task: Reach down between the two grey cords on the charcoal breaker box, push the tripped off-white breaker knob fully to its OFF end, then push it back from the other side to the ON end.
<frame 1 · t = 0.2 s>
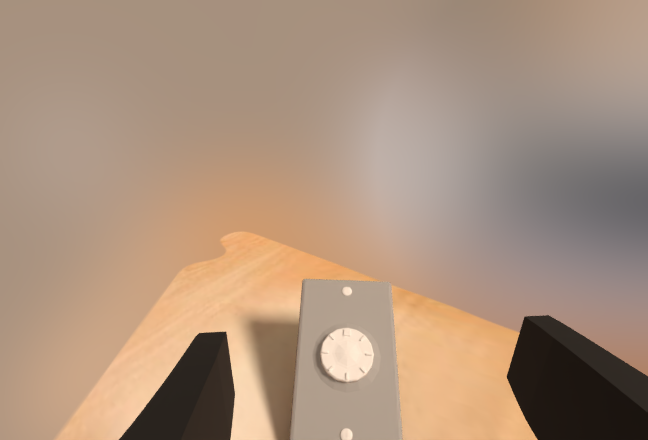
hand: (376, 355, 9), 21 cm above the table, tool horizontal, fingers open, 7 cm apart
light switch: (344, 392, 34), on the table
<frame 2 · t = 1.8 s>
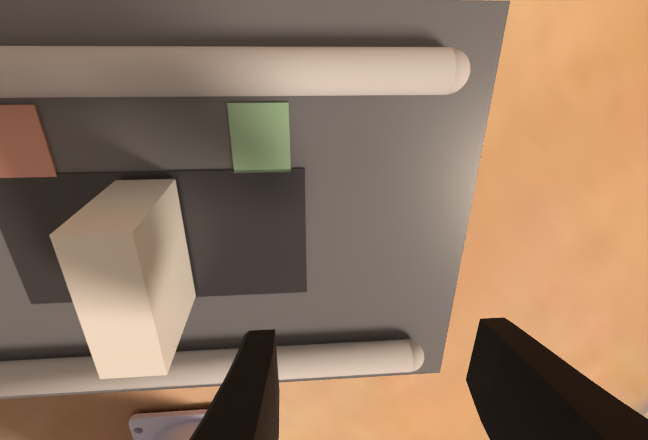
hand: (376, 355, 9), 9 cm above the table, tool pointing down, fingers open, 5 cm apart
breaker box: (181, 207, 17), on the table
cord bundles: (155, 248, 14), on the breaker box, point 3 cm above the table
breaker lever: (139, 272, 12), point 5 cm above the table, slide at 4.0 cm
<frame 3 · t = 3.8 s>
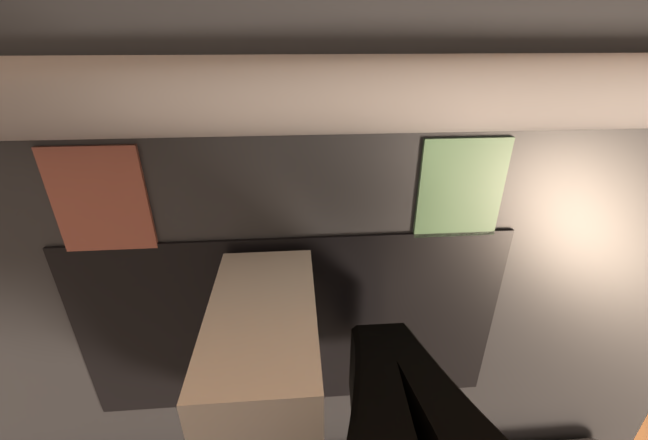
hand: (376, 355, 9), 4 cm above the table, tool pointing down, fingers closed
breaker box: (292, 265, 13), on the table
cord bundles: (292, 344, 10), on the breaker box, point 3 cm above the table
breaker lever: (269, 401, 8), point 5 cm above the table, slide at 4.5 cm, touching gripper
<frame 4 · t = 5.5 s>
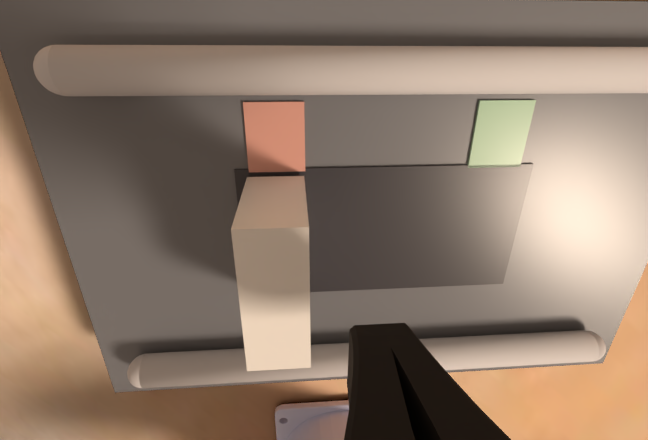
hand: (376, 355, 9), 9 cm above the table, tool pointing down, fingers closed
breaker box: (368, 201, 18), on the table
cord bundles: (386, 240, 14), on the breaker box, point 3 cm above the table
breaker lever: (277, 267, 13), point 5 cm above the table, slide at 8.1 cm
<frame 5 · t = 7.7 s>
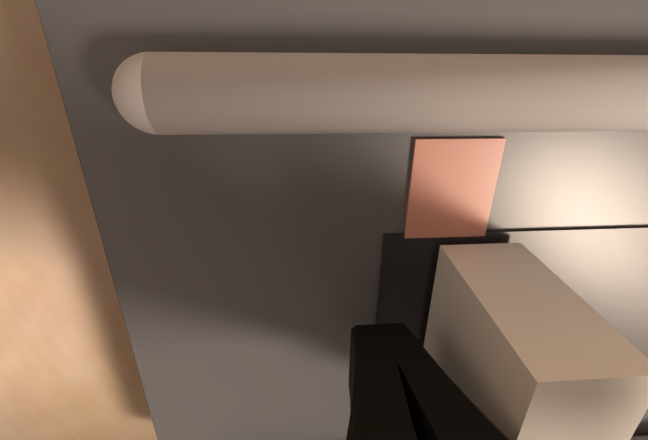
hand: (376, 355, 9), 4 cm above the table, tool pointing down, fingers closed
breaker box: (512, 256, 13), on the table
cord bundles: (585, 329, 10), on the breaker box, point 3 cm above the table
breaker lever: (499, 386, 8), point 5 cm above the table, slide at 7.2 cm, touching gripper
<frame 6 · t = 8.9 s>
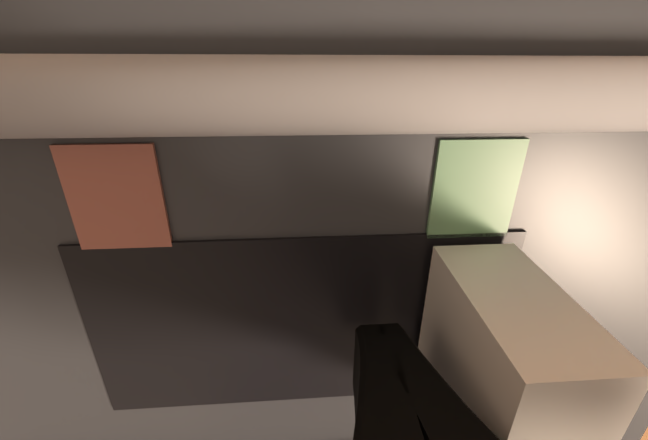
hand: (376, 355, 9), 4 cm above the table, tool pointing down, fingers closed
breaker box: (301, 264, 13), on the table
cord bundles: (304, 344, 10), on the breaker box, point 3 cm above the table
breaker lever: (492, 387, 8), point 5 cm above the table, slide at -0.1 cm, touching gripper
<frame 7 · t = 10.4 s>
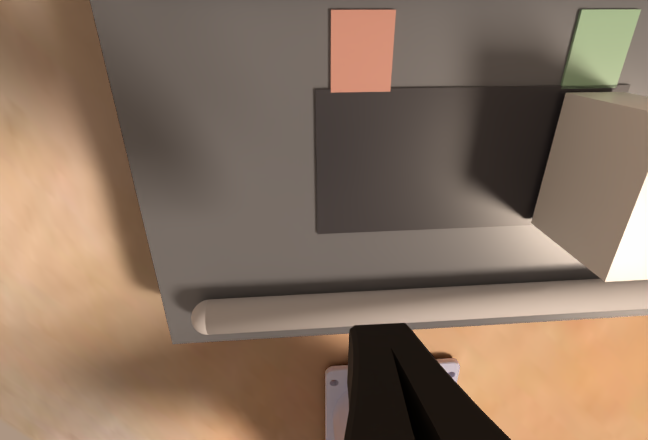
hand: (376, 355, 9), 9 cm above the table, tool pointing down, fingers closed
breaker box: (436, 141, 17), on the table
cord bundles: (471, 169, 14), on the breaker box, point 3 cm above the table
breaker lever: (613, 181, 12), point 5 cm above the table, slide at -0.1 cm
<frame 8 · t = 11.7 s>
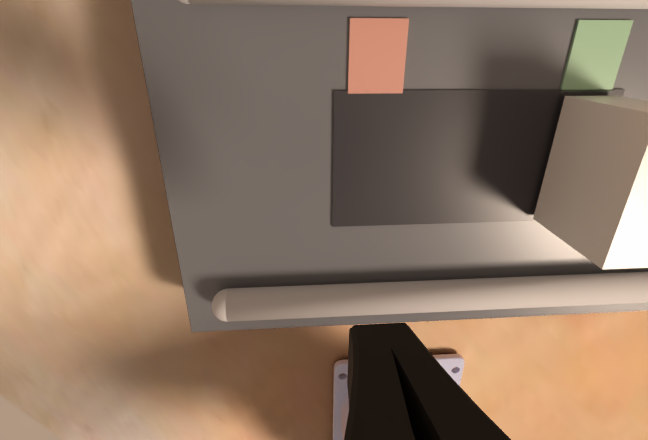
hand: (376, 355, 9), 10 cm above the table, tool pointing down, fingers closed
breaker box: (443, 142, 18), on the table
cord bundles: (477, 165, 15), on the breaker box, point 3 cm above the table
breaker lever: (609, 177, 13), point 5 cm above the table, slide at -0.1 cm
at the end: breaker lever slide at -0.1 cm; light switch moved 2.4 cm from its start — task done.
